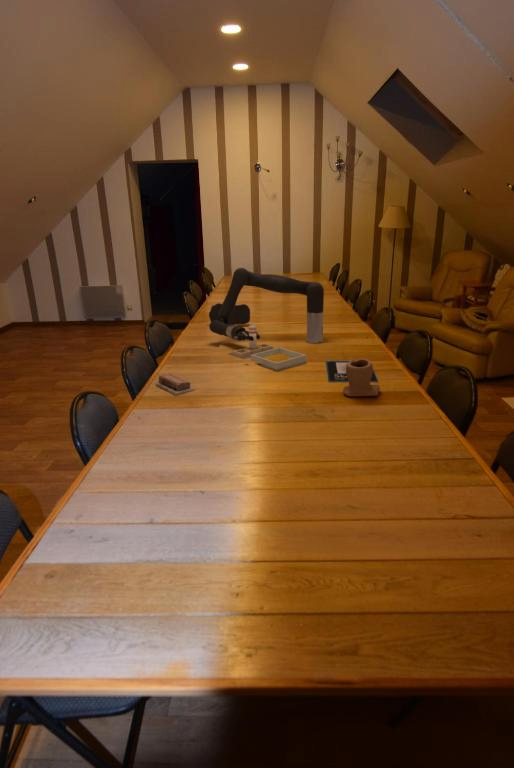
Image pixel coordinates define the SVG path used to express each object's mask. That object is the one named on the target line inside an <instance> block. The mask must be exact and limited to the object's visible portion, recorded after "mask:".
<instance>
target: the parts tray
mask: <svg viewBox="0 0 514 768" xmlns="http://www.w3.org/2000/svg"><path fill="white" fill-rule="evenodd" d="M277 354H283V355H286V356H290V358H289V359H285V360H281V361H278V362H276V361H274V360H270V359H266V358H265V357H269V356H272V355H277ZM250 360H251V361H254V362H255V363H253V364H254V365H257V366H260V367H263V368H266V369H269V370H272V371H275V372H280V371H283V370H287V369H290V368H293V367H297V366H300V365H303V364H306V363H307V354H304V353H300V352H298V351H293V350H290V349H286V348H283V347H276V348H273V349H272V350H268V351H264V352H260V353H256V354H252V355H251V358H250Z"/></svg>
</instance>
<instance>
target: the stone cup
mask: <svg viewBox="0 0 514 768" xmlns="http://www.w3.org/2000/svg"><path fill="white" fill-rule="evenodd" d="M350 360H351V361H350ZM350 360H349V361H350V362H348V363H347V365H346V375H347V379H348V382H349V383H348V382H347V383H348V385H346V386H344V387H343V389H342V392H343V394H344V395H346V396H348V397H374V396H375V397H376V396H378V395H379V392H380V387H381V385H380V384H371V383H370V381H371V377H372V373H373V370H374V367H373V364H372V362H371V360H370V359H367V358H358V359H350Z"/></svg>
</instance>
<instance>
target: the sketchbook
mask: <svg viewBox="0 0 514 768" xmlns="http://www.w3.org/2000/svg"><path fill="white" fill-rule="evenodd" d="M351 360H352V359H347V360H346V359H345V360H344V359H335V360H334V359H331V360H330V359H326V360H325V368H326V373H327V374H326V375H328V376H327V381H328V383H348V379H347V375H346V365H347V363H348V362H350V361H351ZM371 382H374V383H375V384H378V383H379V380H378V378H377V374H376V373H375V370H374V369H373V373H372V377H371V381H370V384H371ZM377 382H378V383H377Z"/></svg>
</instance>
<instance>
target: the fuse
mask: <svg viewBox="0 0 514 768" xmlns="http://www.w3.org/2000/svg"><path fill="white" fill-rule="evenodd" d="M248 331H249V336H252V337H253V338H254V340H253V341H250V340H248V341H249V342H248V345H249V346H248V347H249V349H251V350H255V349H257V345H258V344H257V341H258V340H257V339H256V332H257V325H256V324H251V325H248Z"/></svg>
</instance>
